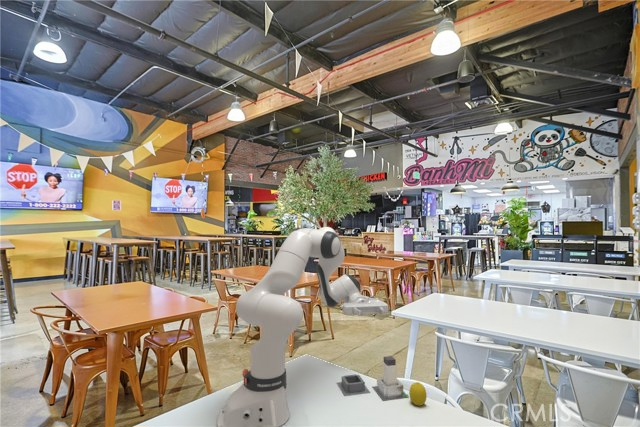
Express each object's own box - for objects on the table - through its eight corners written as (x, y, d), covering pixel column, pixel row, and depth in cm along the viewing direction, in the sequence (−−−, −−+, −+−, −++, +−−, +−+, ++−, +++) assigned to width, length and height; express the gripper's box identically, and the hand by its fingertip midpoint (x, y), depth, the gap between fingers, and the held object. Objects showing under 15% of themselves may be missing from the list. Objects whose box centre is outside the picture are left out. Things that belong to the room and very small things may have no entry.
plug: (387, 395, 112) (387, 360, 113) (383, 389, 116) (382, 356, 116) (396, 393, 113) (396, 359, 114) (392, 388, 117) (391, 355, 117)
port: (382, 404, 108) (382, 390, 109) (371, 389, 118) (371, 377, 118) (409, 400, 111) (409, 387, 111) (396, 386, 120) (396, 374, 121)
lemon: (427, 412, 104) (427, 387, 104) (410, 410, 105) (409, 385, 105) (425, 402, 109) (425, 379, 110) (408, 401, 110) (408, 377, 111)
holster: (344, 399, 111) (344, 387, 112) (336, 385, 121) (336, 374, 121) (370, 395, 114) (370, 384, 114) (360, 382, 123) (360, 371, 124)
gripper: (338, 298, 143) (347, 306, 129) (380, 297, 147) (393, 304, 134) (338, 313, 143) (347, 321, 129) (380, 311, 147) (393, 319, 134)
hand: (371, 312), depth 132 cm, fingers open, 8 cm apart
